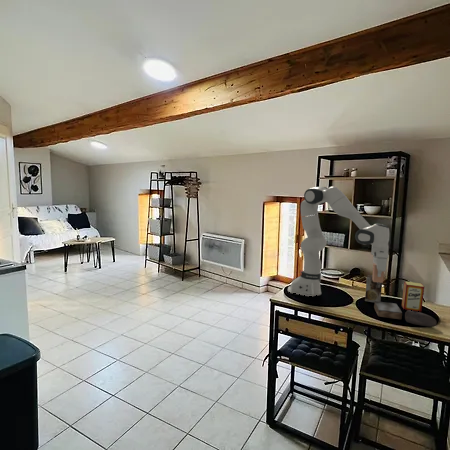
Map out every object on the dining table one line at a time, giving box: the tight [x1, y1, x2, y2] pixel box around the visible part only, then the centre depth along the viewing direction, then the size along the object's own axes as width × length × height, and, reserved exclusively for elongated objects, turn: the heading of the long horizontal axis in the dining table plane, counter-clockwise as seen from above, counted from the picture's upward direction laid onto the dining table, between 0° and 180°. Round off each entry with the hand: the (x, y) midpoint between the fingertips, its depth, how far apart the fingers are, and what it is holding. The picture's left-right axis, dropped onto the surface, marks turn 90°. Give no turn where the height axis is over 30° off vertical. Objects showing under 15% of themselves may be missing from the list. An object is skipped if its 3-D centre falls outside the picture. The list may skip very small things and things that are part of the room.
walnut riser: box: [373, 301, 403, 320], centre depth 190 cm, size 12×14×4 cm
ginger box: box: [401, 281, 425, 313], centre depth 198 cm, size 10×6×16 cm
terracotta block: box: [372, 262, 385, 284], centre depth 189 cm, size 5×5×10 cm
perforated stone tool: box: [404, 310, 437, 328], centre depth 176 cm, size 15×5×7 cm, turn 61°
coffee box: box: [364, 274, 383, 303], centre depth 209 cm, size 9×6×16 cm
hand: (378, 275), depth 189 cm, fingers closed on terracotta block, 5 cm apart
